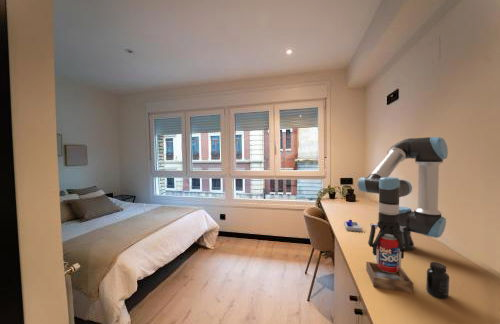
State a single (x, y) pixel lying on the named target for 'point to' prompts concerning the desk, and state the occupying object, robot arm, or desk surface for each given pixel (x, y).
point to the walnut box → (389, 278)
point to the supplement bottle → (437, 281)
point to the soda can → (388, 253)
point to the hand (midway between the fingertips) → (387, 263)
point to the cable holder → (350, 223)
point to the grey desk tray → (355, 227)
